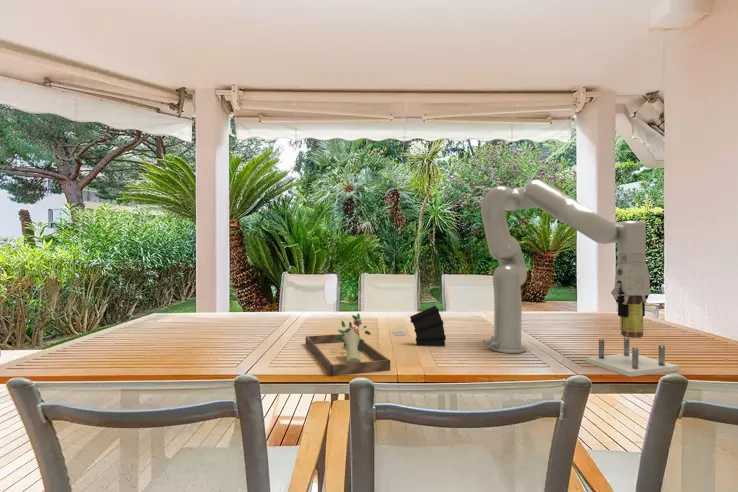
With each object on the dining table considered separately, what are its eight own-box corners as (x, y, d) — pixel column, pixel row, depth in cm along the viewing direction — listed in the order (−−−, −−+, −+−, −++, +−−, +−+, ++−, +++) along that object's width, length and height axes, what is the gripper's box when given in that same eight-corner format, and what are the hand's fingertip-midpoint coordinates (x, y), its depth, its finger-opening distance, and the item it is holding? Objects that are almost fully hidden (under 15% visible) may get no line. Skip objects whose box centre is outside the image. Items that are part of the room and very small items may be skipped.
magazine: (453, 342, 157) (436, 306, 158) (421, 356, 159) (405, 320, 160) (453, 340, 161) (436, 304, 162) (421, 353, 163) (405, 318, 163)
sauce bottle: (648, 338, 130) (648, 274, 130) (629, 338, 130) (629, 274, 130) (633, 334, 137) (633, 273, 137) (615, 334, 136) (615, 273, 136)
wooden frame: (330, 376, 122) (330, 365, 122) (305, 344, 160) (305, 336, 160) (390, 370, 128) (390, 360, 128) (352, 340, 166) (352, 333, 166)
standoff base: (630, 376, 123) (630, 351, 123) (585, 362, 138) (585, 339, 138) (678, 370, 129) (678, 346, 129) (631, 357, 144) (631, 335, 144)
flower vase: (342, 395, 127) (341, 343, 161) (381, 383, 127) (371, 334, 161) (330, 361, 124) (331, 316, 158) (370, 349, 124) (362, 306, 158)
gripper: (621, 260, 127) (621, 319, 127) (662, 259, 133) (662, 316, 133) (600, 259, 134) (600, 315, 134) (640, 259, 140) (640, 313, 140)
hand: (631, 315), depth 133 cm, fingers closed on sauce bottle, 6 cm apart
